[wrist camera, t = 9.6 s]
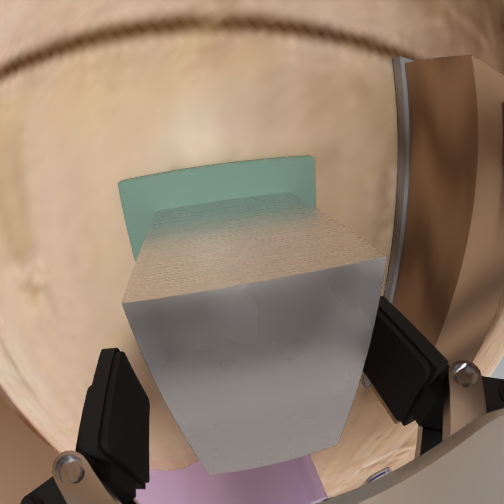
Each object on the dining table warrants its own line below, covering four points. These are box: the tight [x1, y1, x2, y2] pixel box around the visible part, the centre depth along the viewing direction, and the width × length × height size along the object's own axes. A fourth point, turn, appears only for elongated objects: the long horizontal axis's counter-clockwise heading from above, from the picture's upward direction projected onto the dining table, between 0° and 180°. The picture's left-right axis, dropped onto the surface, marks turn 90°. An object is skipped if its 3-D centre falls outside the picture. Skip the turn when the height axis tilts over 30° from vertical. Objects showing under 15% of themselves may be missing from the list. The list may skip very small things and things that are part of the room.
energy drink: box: [368, 468, 392, 483], centre depth 35 cm, size 5×5×12 cm
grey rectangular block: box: [122, 192, 387, 475], centre depth 10 cm, size 9×6×6 cm, turn 5°
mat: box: [118, 156, 316, 262], centre depth 13 cm, size 12×8×1 cm, turn 5°
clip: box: [136, 454, 328, 504], centre depth 20 cm, size 20×12×7 cm, turn 100°
